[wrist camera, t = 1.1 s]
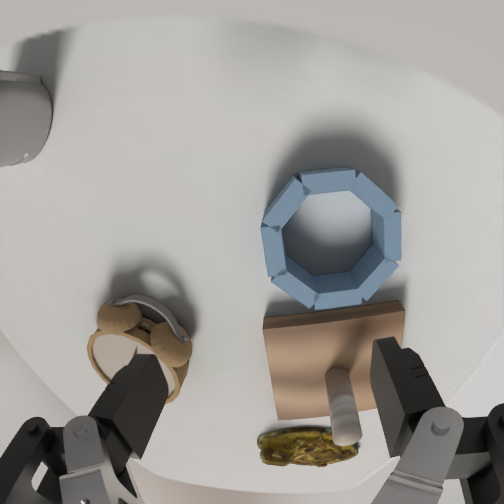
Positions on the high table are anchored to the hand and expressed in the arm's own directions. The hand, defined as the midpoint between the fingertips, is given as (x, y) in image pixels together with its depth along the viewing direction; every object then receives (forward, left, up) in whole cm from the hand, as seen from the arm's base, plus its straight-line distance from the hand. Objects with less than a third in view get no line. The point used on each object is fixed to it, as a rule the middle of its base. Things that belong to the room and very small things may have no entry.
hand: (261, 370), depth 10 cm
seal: (+30, +1, -16) cm, 34 cm away
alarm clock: (+10, -15, -16) cm, 25 cm away
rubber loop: (0, +5, -16) cm, 17 cm away
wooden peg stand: (+14, +5, -16) cm, 22 cm away
